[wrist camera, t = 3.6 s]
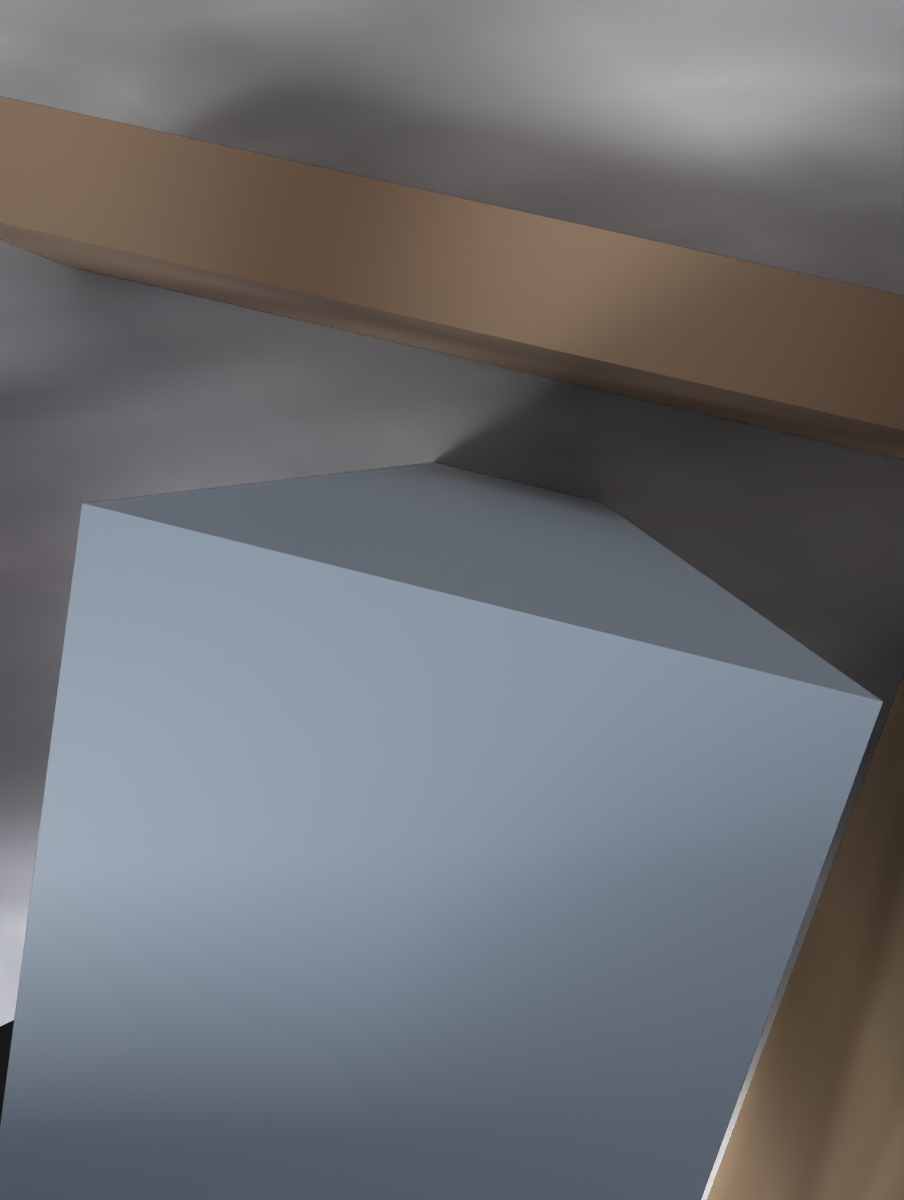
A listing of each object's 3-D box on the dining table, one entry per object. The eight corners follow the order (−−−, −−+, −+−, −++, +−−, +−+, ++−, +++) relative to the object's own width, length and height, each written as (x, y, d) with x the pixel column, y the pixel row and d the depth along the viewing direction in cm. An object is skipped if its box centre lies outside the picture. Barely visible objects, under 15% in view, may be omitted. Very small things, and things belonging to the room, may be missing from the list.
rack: (-42, 1172, 14) (-186, 1354, 12) (78, 177, 11) (-88, 76, 8) (1130, 1518, 13) (1298, 1817, 10) (1686, 539, 10) (2175, 577, 7)
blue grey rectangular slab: (282, 1138, 14) (-165, 2377, 5) (433, 461, 11) (83, 503, 2) (419, 1177, 14) (217, 2524, 5) (602, 502, 11) (882, 701, 2)
